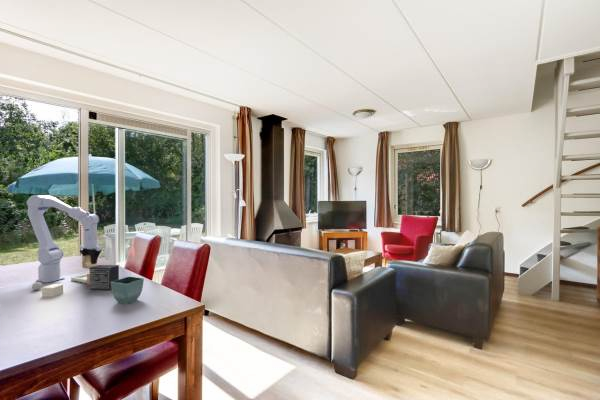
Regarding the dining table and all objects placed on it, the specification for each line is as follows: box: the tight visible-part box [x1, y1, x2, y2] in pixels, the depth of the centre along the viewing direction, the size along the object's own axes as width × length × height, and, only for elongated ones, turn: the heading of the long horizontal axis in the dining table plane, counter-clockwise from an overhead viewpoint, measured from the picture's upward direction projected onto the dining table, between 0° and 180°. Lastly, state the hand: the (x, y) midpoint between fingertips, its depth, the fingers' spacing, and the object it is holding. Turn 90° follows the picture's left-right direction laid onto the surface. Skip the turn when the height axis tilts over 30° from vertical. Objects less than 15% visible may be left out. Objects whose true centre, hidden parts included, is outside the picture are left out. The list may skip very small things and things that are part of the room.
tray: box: [70, 272, 90, 284], centre depth 154 cm, size 12×12×2 cm
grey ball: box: [31, 281, 43, 291], centre depth 137 cm, size 4×4×4 cm
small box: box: [88, 264, 120, 291], centre depth 140 cm, size 11×6×10 cm, turn 84°
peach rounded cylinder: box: [86, 272, 90, 286], centre depth 146 cm, size 4×4×5 cm
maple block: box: [81, 255, 98, 270], centre depth 153 cm, size 4×4×6 cm
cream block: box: [41, 283, 64, 298], centre depth 130 cm, size 5×5×4 cm
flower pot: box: [111, 276, 145, 305], centre depth 122 cm, size 9×9×9 cm
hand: (90, 263), depth 154 cm, fingers closed on maple block, 4 cm apart
